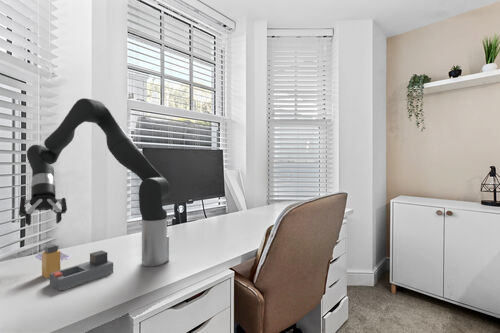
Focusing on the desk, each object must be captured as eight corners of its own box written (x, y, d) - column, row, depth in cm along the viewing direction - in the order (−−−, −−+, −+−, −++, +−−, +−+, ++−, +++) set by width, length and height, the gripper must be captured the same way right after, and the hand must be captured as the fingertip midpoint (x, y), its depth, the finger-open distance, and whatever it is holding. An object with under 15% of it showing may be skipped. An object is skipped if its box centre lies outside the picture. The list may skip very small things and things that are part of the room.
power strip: (101, 267, 94) (101, 248, 94) (113, 272, 89) (113, 252, 89) (49, 284, 81) (49, 262, 81) (59, 291, 76) (59, 268, 76)
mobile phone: (48, 262, 97) (34, 254, 105) (48, 264, 97) (34, 256, 105) (71, 256, 103) (56, 249, 112) (71, 258, 103) (56, 251, 112)
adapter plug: (55, 271, 90) (55, 243, 90) (60, 274, 88) (60, 245, 88) (41, 275, 87) (41, 246, 87) (46, 278, 85) (46, 248, 85)
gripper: (21, 181, 95) (20, 220, 88) (66, 182, 105) (69, 217, 98) (18, 191, 99) (17, 230, 92) (62, 191, 109) (64, 226, 102)
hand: (44, 223), depth 95 cm, fingers open, 8 cm apart
